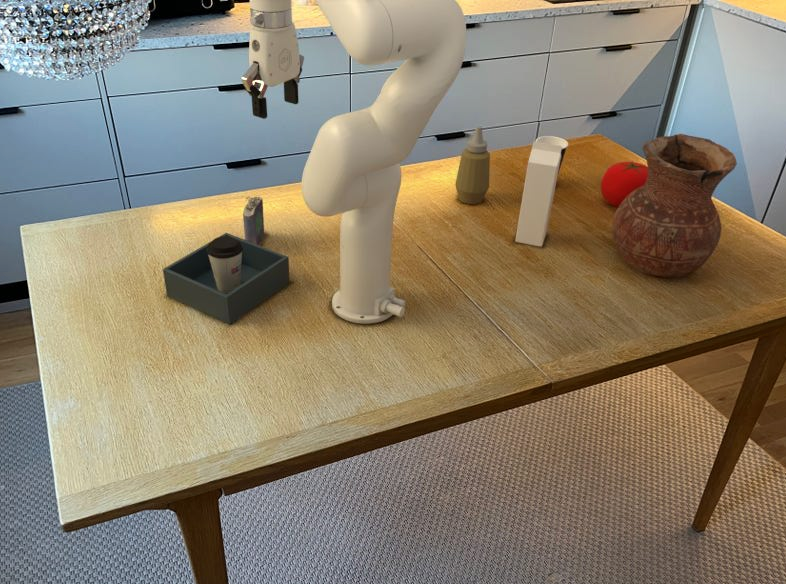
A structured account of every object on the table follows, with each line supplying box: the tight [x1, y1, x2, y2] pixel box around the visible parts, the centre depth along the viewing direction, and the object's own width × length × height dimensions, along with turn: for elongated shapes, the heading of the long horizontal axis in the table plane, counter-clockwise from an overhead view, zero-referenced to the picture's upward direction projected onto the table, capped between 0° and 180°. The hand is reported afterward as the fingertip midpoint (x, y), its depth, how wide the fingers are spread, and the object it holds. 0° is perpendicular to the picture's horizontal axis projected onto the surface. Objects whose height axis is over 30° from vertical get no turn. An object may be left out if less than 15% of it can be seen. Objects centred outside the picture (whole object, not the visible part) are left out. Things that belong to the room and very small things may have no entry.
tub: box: [162, 232, 291, 325], centre depth 149 cm, size 16×18×6 cm
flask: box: [242, 196, 266, 246], centre depth 162 cm, size 9×3×11 cm, turn 172°
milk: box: [514, 141, 562, 247], centre depth 163 cm, size 6×6×22 cm
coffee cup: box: [206, 235, 243, 293], centre depth 147 cm, size 7×7×10 cm
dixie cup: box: [535, 135, 569, 178], centre depth 189 cm, size 8×8×11 cm
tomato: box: [600, 160, 648, 209], centre depth 181 cm, size 12×12×10 cm
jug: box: [611, 133, 738, 278], centre depth 155 cm, size 22×21×25 cm
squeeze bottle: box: [454, 125, 491, 205], centre depth 179 cm, size 8×8×18 cm
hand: (276, 109), depth 150 cm, fingers open, 9 cm apart
